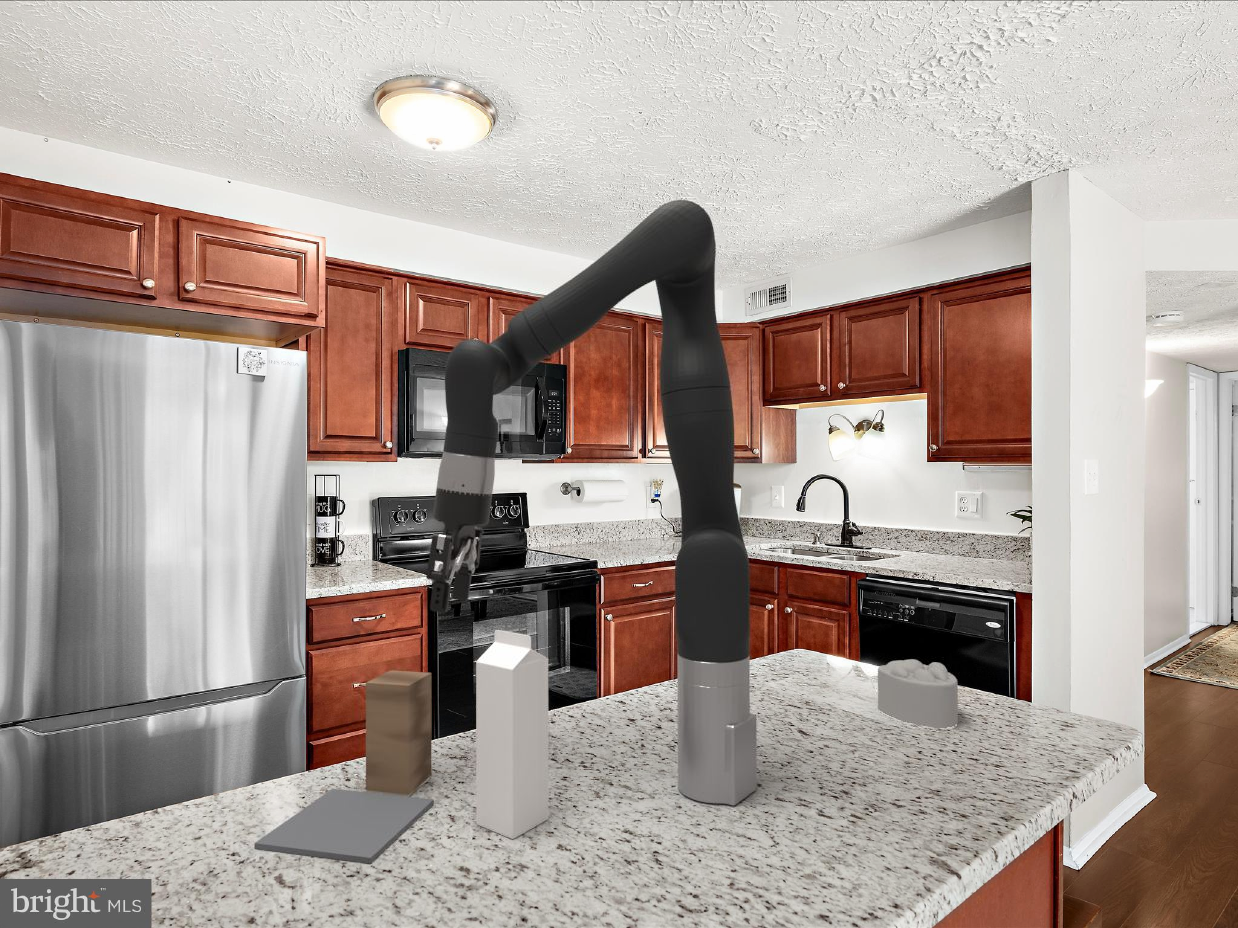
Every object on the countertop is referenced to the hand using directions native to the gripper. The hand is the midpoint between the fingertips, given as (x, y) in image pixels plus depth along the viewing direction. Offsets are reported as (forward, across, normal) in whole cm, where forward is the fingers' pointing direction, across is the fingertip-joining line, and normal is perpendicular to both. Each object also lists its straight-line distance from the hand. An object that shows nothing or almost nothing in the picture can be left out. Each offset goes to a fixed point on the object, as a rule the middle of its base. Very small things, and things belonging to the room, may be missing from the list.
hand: (449, 605), depth 100 cm
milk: (+21, -14, -15) cm, 29 cm away
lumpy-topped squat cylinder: (+13, +30, -73) cm, 80 cm away
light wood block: (+23, -5, +2) cm, 24 cm away
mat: (+23, -16, +3) cm, 28 cm away
